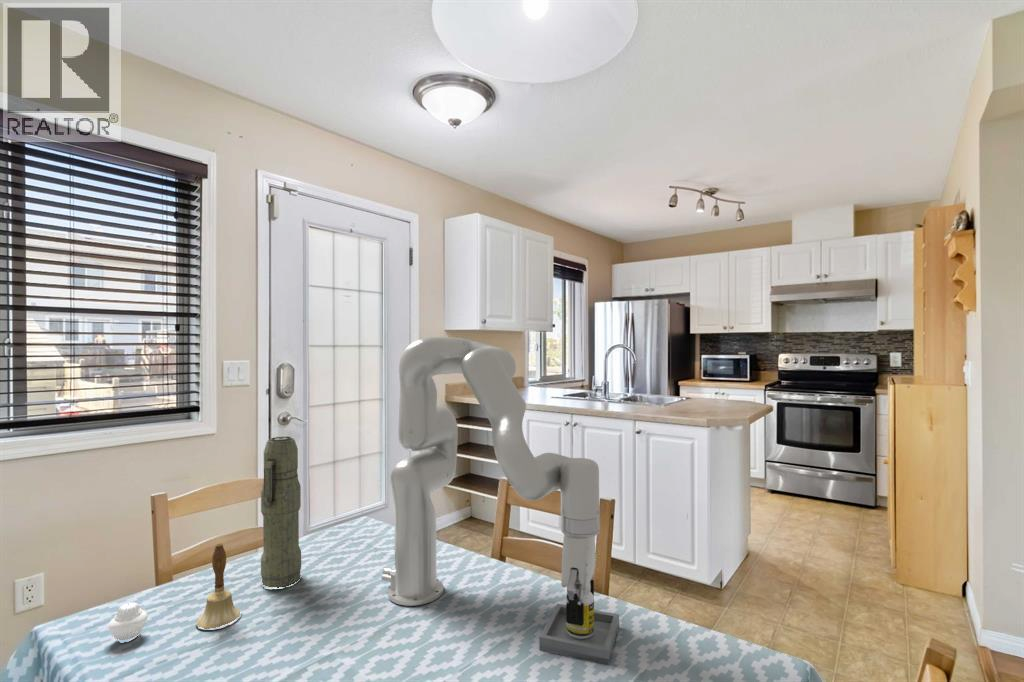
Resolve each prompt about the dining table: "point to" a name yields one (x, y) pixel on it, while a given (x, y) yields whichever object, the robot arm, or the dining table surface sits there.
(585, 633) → the supplement bottle
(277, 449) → the thermos
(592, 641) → the tray
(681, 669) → the dining table surface
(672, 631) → the dining table surface
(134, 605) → the white tiered dome
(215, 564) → the hand bell
